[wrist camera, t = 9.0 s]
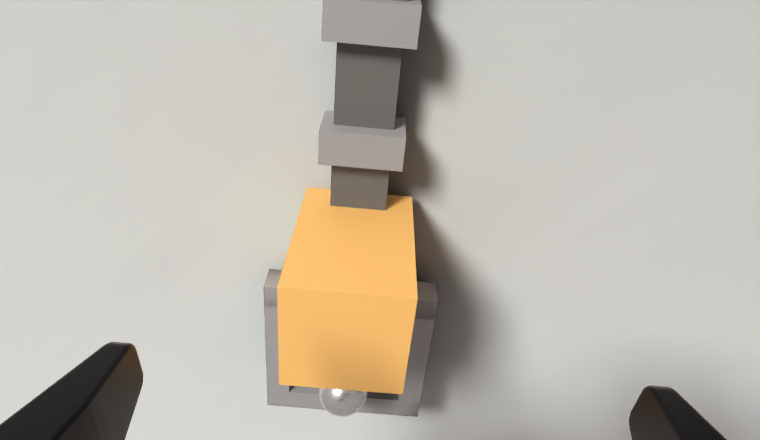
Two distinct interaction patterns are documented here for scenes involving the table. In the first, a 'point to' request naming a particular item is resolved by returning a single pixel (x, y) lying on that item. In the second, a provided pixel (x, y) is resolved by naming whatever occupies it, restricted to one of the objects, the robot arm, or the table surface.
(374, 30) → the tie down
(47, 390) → the robot arm
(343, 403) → the keeper
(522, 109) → the table surface
